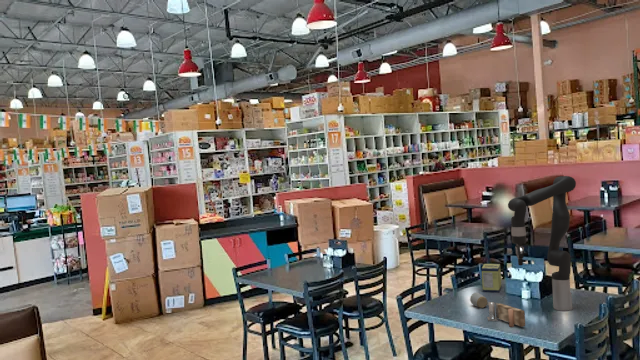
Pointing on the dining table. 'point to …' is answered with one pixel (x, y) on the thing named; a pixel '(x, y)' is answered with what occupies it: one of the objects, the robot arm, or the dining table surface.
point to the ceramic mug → (478, 300)
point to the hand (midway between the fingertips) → (520, 265)
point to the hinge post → (492, 312)
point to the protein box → (491, 278)
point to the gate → (503, 315)
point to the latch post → (511, 318)
